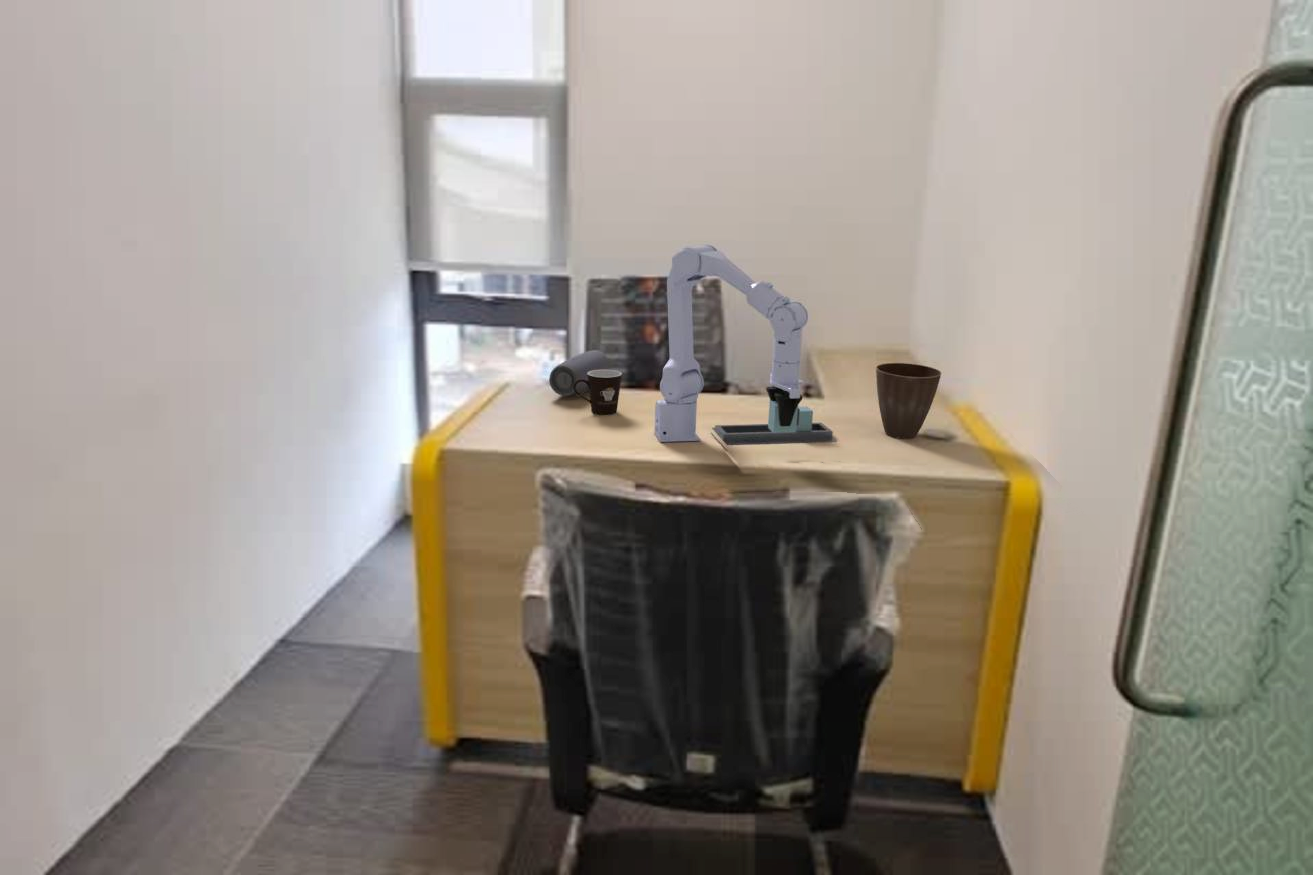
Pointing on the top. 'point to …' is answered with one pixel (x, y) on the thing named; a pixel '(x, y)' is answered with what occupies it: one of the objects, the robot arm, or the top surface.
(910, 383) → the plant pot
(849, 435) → the top surface
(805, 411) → the light blue block
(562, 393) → the bluetooth speaker
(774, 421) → the lidded storage box
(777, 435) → the rail
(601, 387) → the coffee mug
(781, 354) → the robot arm
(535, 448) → the top surface
